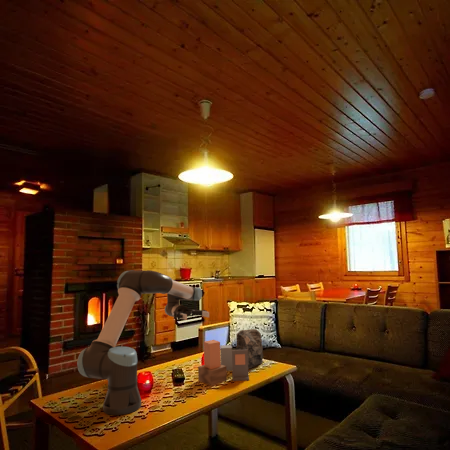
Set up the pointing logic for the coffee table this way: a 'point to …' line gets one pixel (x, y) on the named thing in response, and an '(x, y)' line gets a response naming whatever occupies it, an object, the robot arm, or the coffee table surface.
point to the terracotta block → (212, 354)
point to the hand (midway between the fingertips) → (197, 316)
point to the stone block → (251, 345)
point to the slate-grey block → (226, 356)
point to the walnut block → (212, 375)
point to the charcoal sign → (240, 365)
